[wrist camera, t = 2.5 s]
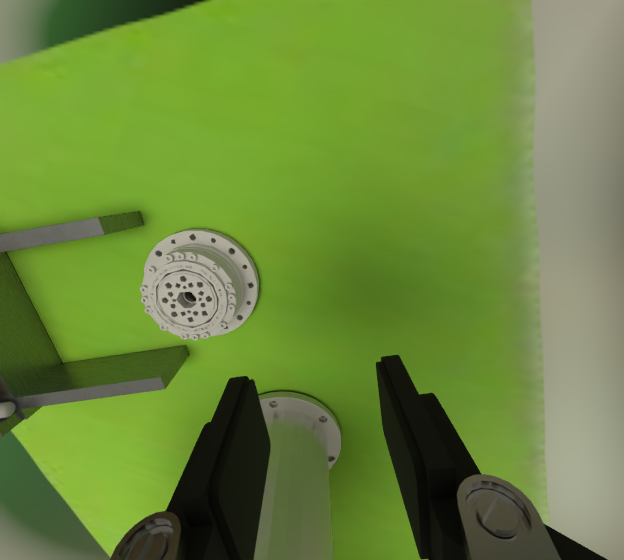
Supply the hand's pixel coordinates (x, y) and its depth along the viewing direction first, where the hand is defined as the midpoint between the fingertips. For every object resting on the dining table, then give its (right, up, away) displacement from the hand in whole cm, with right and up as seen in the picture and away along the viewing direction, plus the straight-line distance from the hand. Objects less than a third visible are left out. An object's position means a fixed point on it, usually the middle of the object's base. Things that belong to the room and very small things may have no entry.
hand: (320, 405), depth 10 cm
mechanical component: (-10, +4, +17) cm, 21 cm away
